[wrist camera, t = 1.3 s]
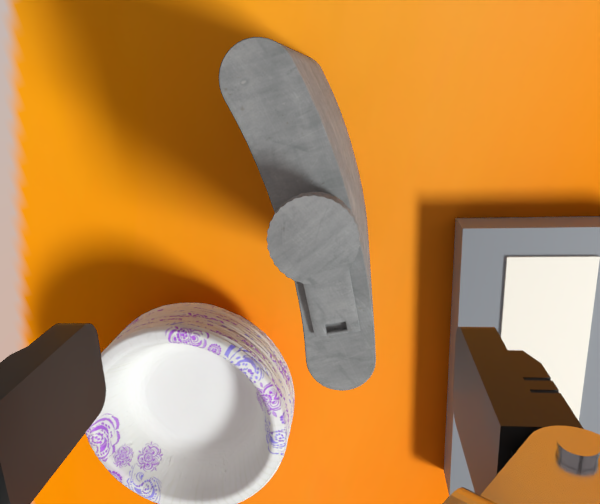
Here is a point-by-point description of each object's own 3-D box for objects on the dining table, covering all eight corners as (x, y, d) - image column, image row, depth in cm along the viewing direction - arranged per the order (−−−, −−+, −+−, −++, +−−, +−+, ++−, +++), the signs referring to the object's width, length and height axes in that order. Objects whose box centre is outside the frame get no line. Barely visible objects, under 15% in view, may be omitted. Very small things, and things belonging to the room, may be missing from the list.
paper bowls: (93, 389, 48) (43, 447, 40) (173, 251, 43) (133, 287, 36) (241, 477, 49) (220, 549, 42) (335, 351, 44) (330, 406, 37)
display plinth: (455, 218, 40) (463, 229, 37) (629, 215, 39) (652, 227, 36) (443, 470, 47) (449, 497, 44) (592, 475, 45) (609, 503, 42)
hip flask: (273, 63, 38) (189, 47, 19) (329, 45, 38) (300, 11, 19) (332, 272, 42) (312, 428, 23) (384, 260, 42) (406, 410, 23)
